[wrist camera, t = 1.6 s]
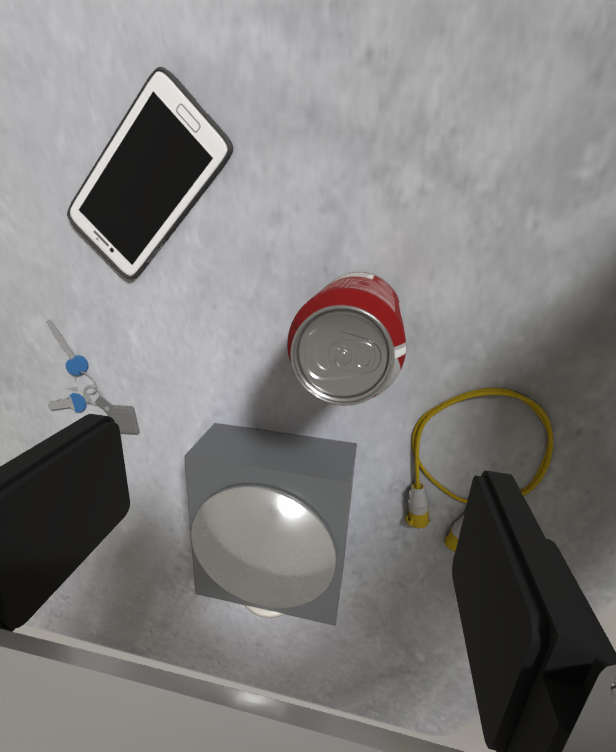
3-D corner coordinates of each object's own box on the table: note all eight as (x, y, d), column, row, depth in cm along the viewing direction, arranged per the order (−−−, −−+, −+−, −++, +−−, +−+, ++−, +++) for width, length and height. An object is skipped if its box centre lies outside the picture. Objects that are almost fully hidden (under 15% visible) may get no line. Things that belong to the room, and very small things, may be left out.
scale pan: (342, 497, 30) (341, 503, 29) (331, 613, 35) (330, 621, 34) (191, 471, 32) (186, 477, 32) (199, 583, 37) (195, 590, 36)
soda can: (318, 270, 30) (277, 290, 19) (404, 272, 29) (414, 295, 18) (317, 351, 33) (280, 410, 22) (397, 356, 32) (401, 421, 21)
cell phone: (239, 149, 29) (235, 146, 28) (135, 282, 34) (129, 283, 33) (166, 64, 28) (158, 59, 27) (71, 216, 33) (62, 215, 32)
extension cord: (354, 468, 37) (353, 481, 35) (489, 356, 31) (495, 364, 29) (444, 547, 38) (447, 563, 36) (591, 454, 32) (604, 468, 30)
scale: (356, 443, 35) (350, 485, 29) (342, 577, 41) (334, 635, 35) (214, 423, 37) (182, 458, 32) (220, 552, 43) (194, 602, 38)
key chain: (151, 423, 39) (147, 426, 39) (107, 460, 42) (102, 464, 42) (53, 317, 37) (46, 319, 37) (14, 364, 40) (7, 367, 40)
